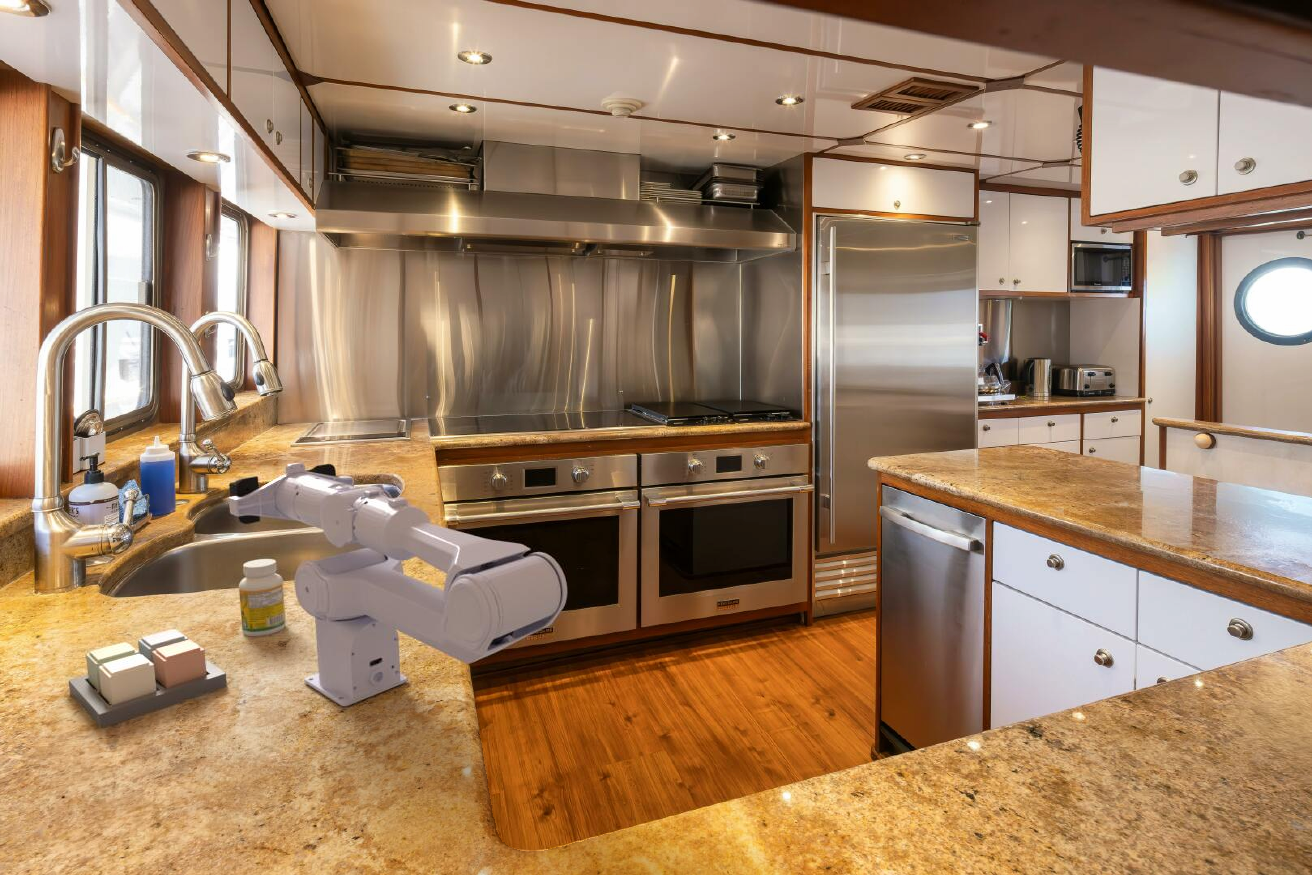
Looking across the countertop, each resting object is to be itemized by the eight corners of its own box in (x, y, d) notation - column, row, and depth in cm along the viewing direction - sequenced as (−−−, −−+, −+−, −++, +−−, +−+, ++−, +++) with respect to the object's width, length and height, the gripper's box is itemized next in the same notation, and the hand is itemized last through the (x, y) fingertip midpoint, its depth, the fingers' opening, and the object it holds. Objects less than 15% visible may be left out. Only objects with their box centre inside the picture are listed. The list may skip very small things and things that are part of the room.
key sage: (141, 678, 83) (138, 649, 82) (98, 691, 80) (95, 661, 79) (130, 668, 85) (127, 640, 85) (88, 680, 82) (85, 651, 82)
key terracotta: (206, 675, 84) (204, 646, 83) (166, 688, 81) (164, 658, 80) (193, 665, 86) (191, 637, 86) (154, 677, 83) (151, 649, 83)
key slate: (190, 663, 87) (188, 635, 86) (151, 675, 84) (148, 646, 83) (178, 654, 89) (176, 627, 89) (140, 665, 86) (137, 637, 86)
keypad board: (226, 686, 84) (225, 673, 84) (100, 728, 75) (99, 714, 75) (188, 657, 92) (187, 645, 91) (69, 693, 82) (68, 679, 82)
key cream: (156, 691, 80) (153, 661, 79) (112, 705, 77) (109, 674, 76) (144, 681, 82) (141, 651, 82) (101, 694, 79) (98, 664, 79)
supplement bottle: (281, 634, 99) (277, 567, 97) (237, 639, 97) (232, 570, 96) (289, 620, 104) (284, 555, 103) (247, 624, 102) (242, 558, 101)
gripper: (371, 458, 91) (316, 446, 99) (250, 480, 80) (199, 463, 88) (374, 513, 92) (320, 496, 100) (256, 541, 81) (205, 519, 89)
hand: (264, 484), depth 94 cm, fingers open, 7 cm apart
